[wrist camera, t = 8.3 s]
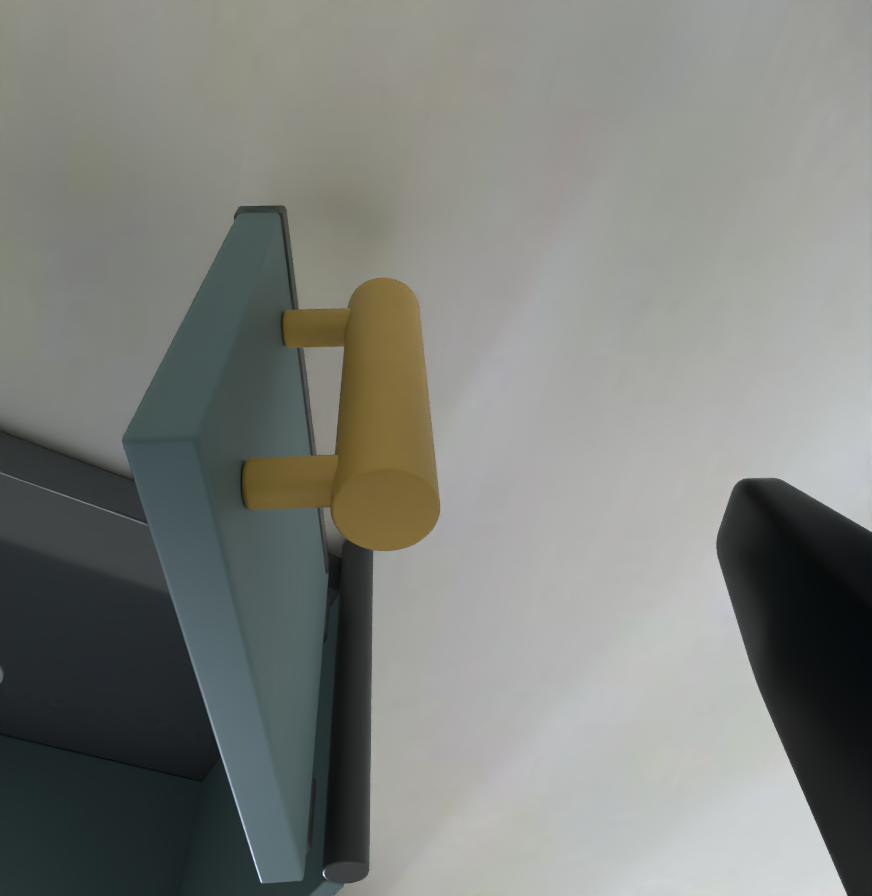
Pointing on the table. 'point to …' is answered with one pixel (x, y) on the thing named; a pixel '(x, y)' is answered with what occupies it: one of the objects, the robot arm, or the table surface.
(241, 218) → the door panel with handle
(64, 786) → the hinged door cabinet
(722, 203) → the table surface
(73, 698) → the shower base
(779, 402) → the table surface
